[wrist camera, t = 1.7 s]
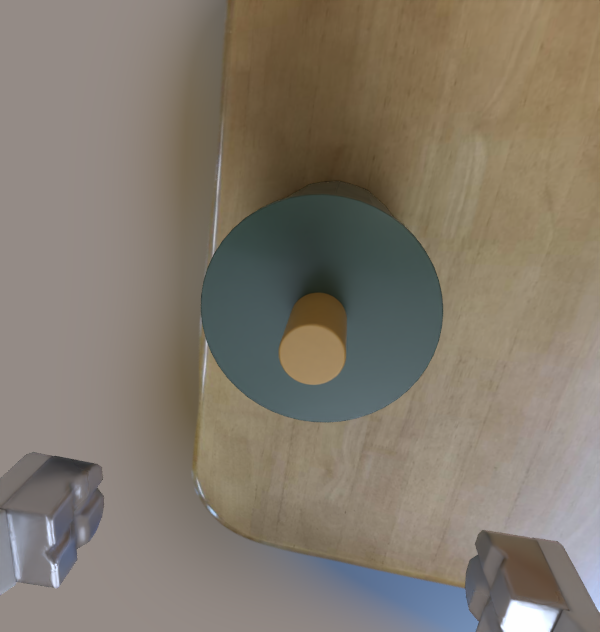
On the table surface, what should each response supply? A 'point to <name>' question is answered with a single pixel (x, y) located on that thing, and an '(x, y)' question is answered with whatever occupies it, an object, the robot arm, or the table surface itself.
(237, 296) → the tin lid
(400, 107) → the table surface
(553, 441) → the table surface
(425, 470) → the table surface
